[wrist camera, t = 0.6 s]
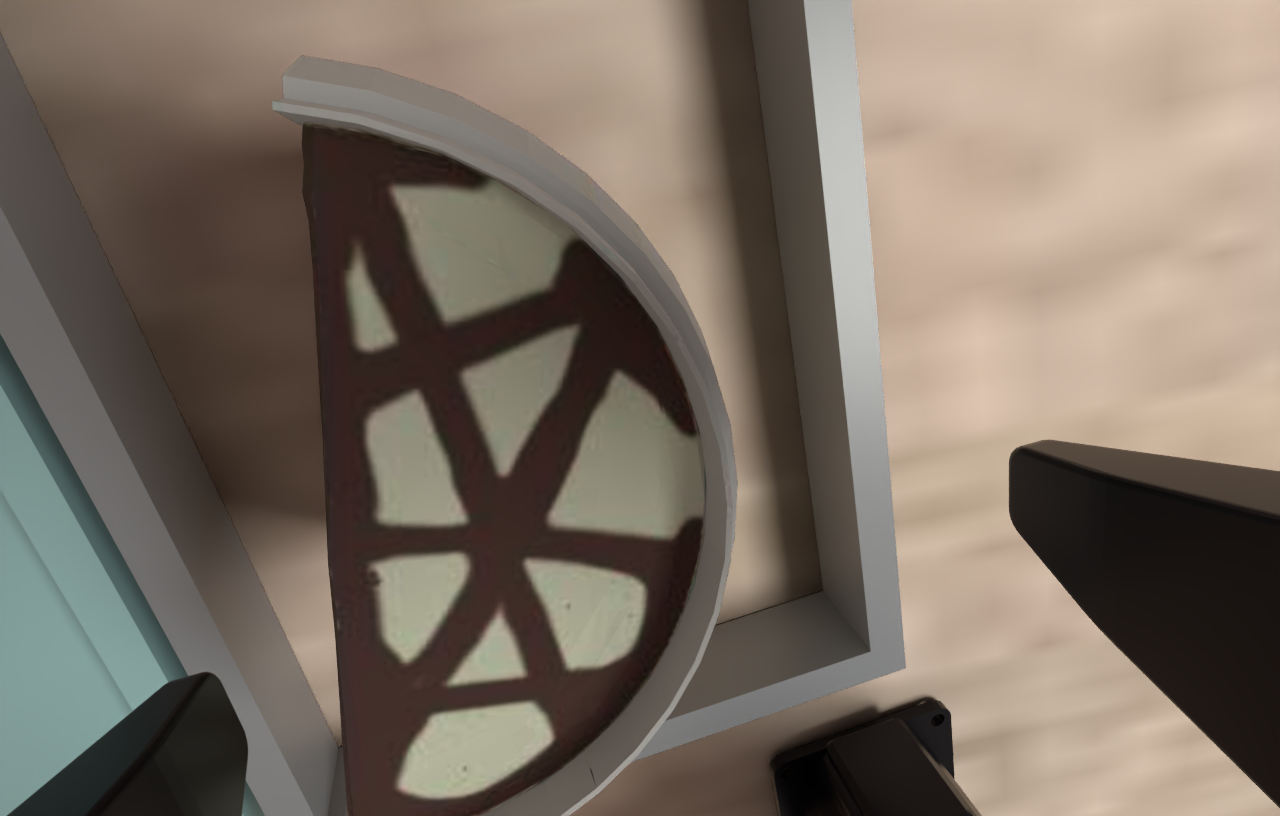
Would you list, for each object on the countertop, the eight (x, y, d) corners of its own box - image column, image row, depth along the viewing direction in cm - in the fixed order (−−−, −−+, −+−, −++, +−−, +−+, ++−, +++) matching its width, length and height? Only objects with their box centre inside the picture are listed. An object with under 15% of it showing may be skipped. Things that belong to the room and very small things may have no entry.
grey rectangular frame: (855, 606, 25) (905, 668, 22) (315, 784, 23) (298, 876, 20) (763, -237, 16) (826, -305, 14) (-122, -89, 14) (-258, -136, 11)
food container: (609, 564, 22) (721, 876, 13) (382, 577, 21) (335, 937, 12) (642, 101, 18) (838, 97, 9) (361, 77, 17) (266, 44, 8)
